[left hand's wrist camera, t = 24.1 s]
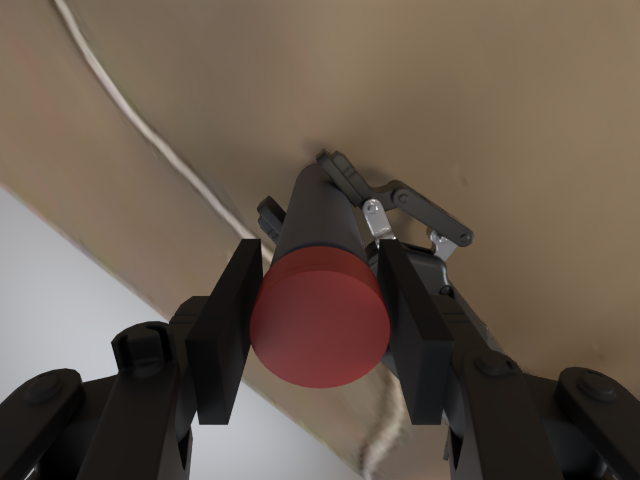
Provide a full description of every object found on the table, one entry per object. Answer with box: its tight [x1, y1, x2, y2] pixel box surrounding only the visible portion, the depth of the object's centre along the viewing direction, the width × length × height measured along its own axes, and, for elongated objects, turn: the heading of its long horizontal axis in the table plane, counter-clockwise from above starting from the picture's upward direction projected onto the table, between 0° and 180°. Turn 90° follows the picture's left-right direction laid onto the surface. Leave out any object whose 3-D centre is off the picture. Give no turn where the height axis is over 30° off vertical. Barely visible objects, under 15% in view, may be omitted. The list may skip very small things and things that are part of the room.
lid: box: [249, 246, 391, 388], centre depth 11 cm, size 4×4×2 cm
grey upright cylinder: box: [270, 164, 370, 268], centre depth 20 cm, size 4×4×18 cm
